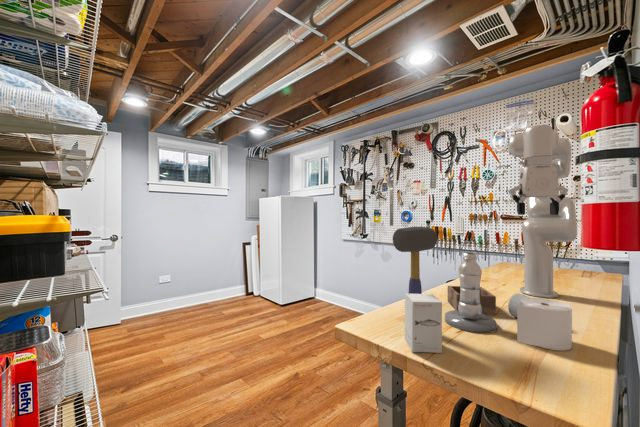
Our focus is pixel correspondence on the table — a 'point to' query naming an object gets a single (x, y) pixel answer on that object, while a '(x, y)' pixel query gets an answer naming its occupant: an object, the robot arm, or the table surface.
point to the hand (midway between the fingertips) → (537, 214)
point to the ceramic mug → (515, 303)
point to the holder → (485, 299)
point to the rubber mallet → (414, 250)
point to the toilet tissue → (544, 323)
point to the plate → (470, 322)
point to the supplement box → (423, 323)
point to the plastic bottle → (470, 287)
